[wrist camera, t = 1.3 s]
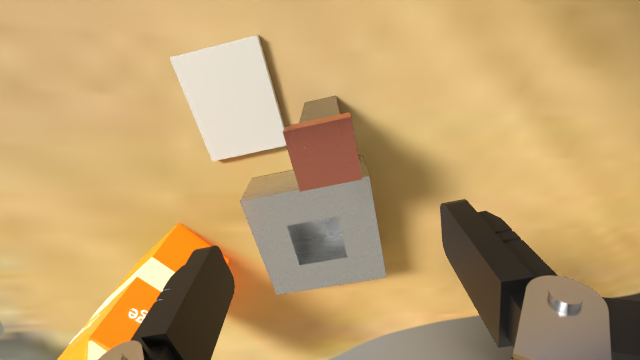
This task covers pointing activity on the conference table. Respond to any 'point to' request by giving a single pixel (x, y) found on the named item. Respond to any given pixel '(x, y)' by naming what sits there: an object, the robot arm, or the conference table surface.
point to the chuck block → (314, 231)
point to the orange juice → (134, 296)
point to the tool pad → (232, 97)
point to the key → (323, 146)
